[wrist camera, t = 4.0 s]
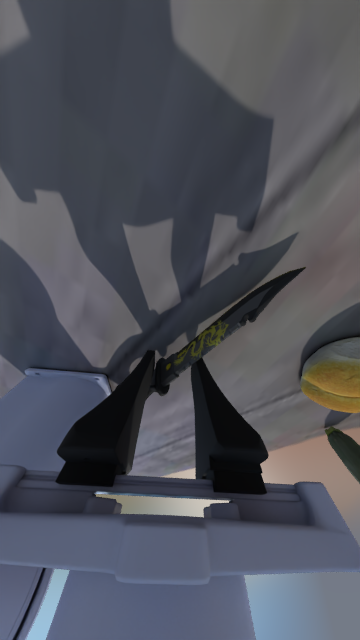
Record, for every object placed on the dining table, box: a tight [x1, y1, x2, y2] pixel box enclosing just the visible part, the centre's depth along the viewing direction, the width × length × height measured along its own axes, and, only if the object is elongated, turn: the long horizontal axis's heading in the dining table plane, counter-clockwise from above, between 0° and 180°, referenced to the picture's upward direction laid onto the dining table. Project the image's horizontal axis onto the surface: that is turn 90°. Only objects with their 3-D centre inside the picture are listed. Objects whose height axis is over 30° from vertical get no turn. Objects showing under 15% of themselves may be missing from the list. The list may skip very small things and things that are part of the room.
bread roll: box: [300, 337, 360, 413], centre depth 13 cm, size 8×9×4 cm
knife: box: [116, 267, 306, 401], centre depth 12 cm, size 23×2×5 cm, turn 135°
